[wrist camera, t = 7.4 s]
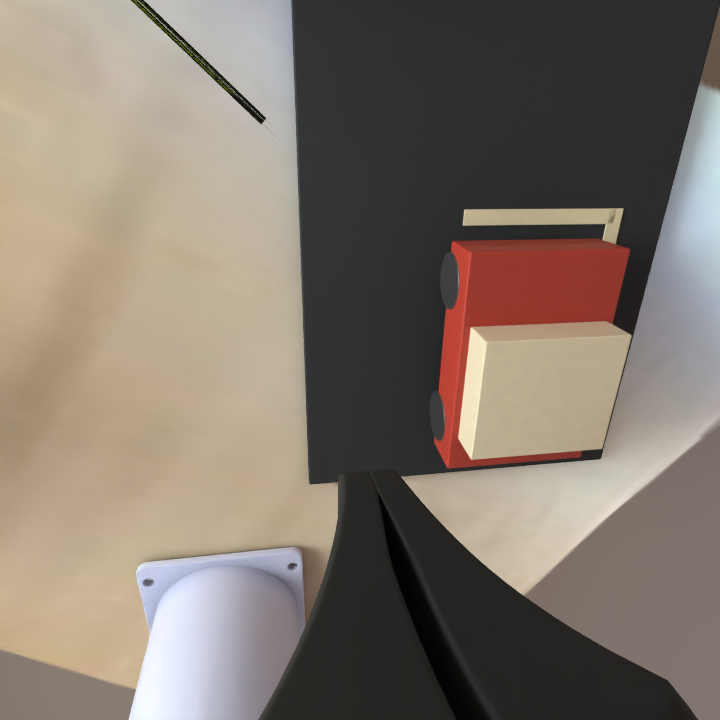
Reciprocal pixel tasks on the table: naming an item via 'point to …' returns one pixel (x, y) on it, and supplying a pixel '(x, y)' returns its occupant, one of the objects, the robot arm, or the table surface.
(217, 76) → the toy tank
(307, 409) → the mat
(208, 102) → the table surface
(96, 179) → the table surface
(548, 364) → the toy car
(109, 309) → the table surface
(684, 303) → the table surface
